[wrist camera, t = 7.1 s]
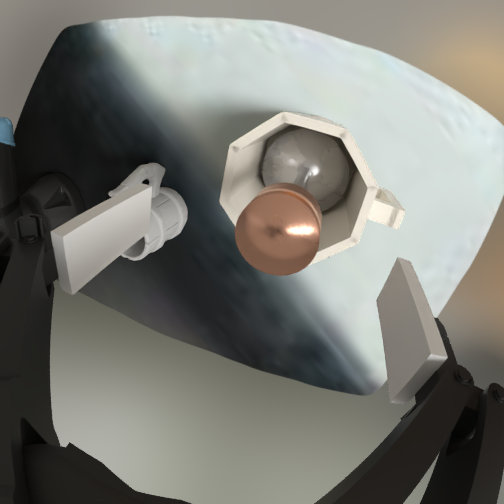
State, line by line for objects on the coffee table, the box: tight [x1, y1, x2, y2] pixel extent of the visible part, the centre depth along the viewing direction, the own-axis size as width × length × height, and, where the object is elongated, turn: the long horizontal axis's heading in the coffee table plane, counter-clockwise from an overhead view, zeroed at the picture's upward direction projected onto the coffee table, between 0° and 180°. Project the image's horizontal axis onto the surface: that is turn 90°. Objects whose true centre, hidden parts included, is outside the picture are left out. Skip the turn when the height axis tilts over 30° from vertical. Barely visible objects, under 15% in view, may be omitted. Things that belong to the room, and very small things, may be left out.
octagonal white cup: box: [219, 112, 406, 266], centre depth 28 cm, size 16×12×13 cm
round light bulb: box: [235, 130, 349, 275], centre depth 23 cm, size 9×9×18 cm
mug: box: [109, 163, 188, 261], centre depth 35 cm, size 8×12×12 cm, turn 174°
